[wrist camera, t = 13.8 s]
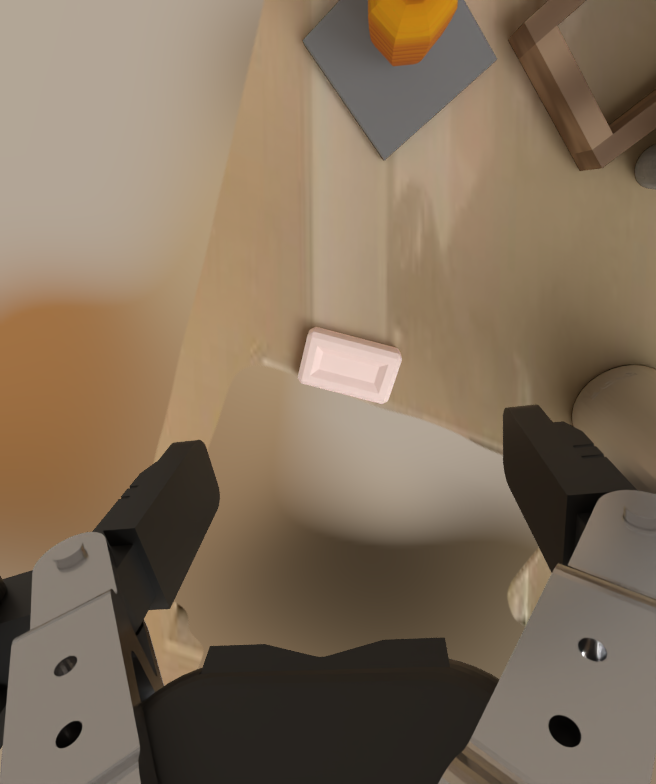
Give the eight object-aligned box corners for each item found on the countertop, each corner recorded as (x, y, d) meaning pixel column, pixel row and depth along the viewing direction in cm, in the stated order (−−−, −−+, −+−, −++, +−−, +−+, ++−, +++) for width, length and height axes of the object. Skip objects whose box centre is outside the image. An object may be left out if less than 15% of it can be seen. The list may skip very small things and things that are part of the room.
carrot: (355, 31, 31) (342, -99, 17) (420, -10, 30) (462, -185, 16) (382, 104, 33) (390, 38, 19) (445, 68, 31) (502, -31, 18)
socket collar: (727, 60, 31) (768, 44, 28) (580, 170, 34) (601, 168, 31) (661, -99, 28) (700, -137, 25) (508, 40, 31) (524, 22, 28)
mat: (493, 62, 32) (497, 59, 31) (383, 160, 35) (384, 159, 34) (415, -75, 29) (416, -84, 28) (304, 44, 32) (302, 40, 31)
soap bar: (311, 324, 42) (308, 331, 39) (401, 348, 42) (403, 356, 40) (299, 374, 44) (296, 383, 42) (385, 396, 44) (386, 406, 42)
